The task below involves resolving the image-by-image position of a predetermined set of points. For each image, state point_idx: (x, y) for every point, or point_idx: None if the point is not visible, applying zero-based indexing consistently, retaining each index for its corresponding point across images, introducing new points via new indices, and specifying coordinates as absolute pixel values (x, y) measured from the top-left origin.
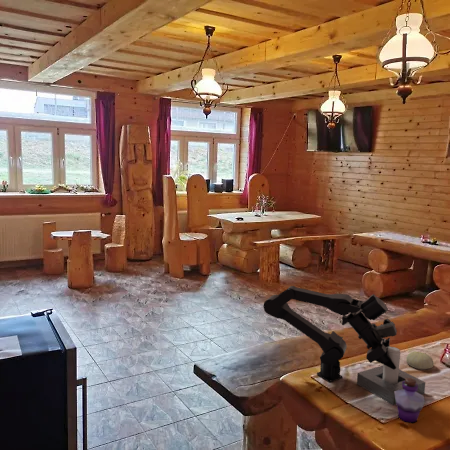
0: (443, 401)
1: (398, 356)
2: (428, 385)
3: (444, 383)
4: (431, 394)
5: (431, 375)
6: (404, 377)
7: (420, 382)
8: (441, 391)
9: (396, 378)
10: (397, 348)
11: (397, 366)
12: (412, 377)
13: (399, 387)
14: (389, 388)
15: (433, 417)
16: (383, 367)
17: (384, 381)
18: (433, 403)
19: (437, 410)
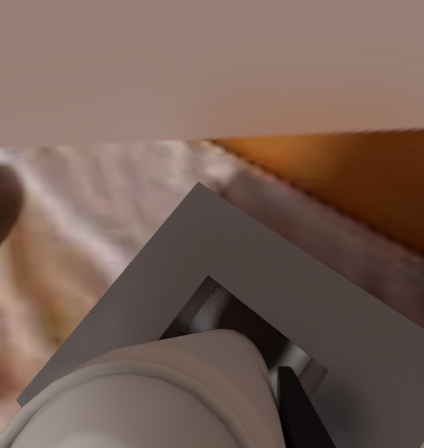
0: (242, 142)
1: (231, 372)
2: (128, 195)
3: (94, 146)
4: (203, 182)
5: (39, 189)
6: (183, 289)
7: (212, 203)
8: (162, 152)
9: (247, 341)
10: (21, 420)
11: (246, 353)
12: (166, 244)
13: (346, 317)
14: (407, 391)
15: (407, 167)
16: None
17: None
18: (279, 172)
19: (332, 157)
